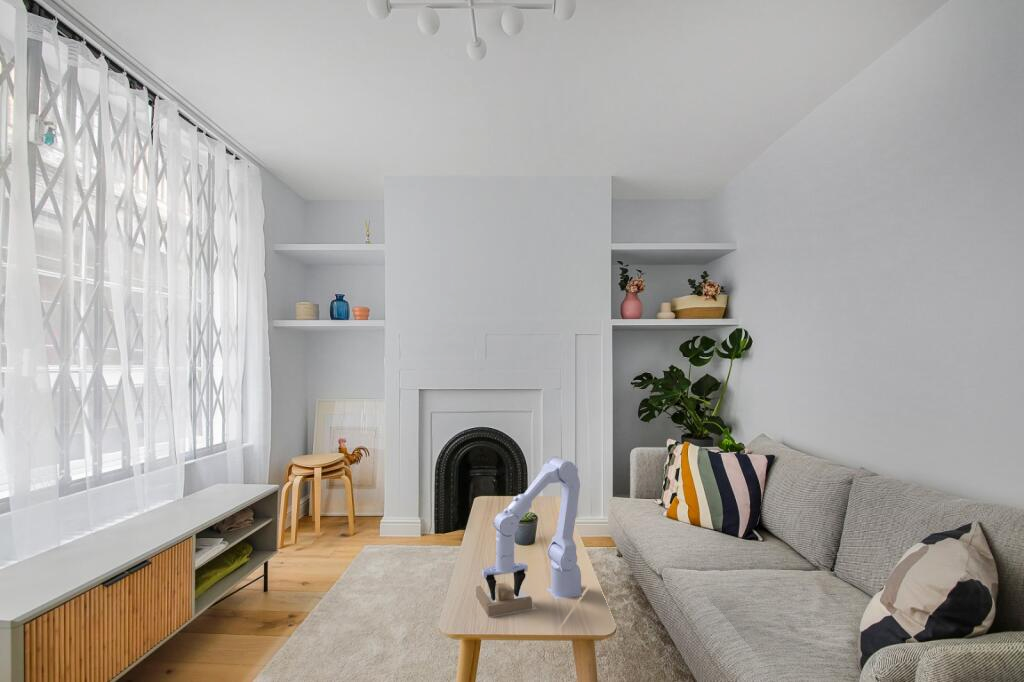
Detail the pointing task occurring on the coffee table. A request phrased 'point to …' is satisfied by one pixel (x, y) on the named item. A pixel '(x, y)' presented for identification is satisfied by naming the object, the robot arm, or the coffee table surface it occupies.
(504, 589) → the oak block
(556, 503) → the coffee table surface
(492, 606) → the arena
